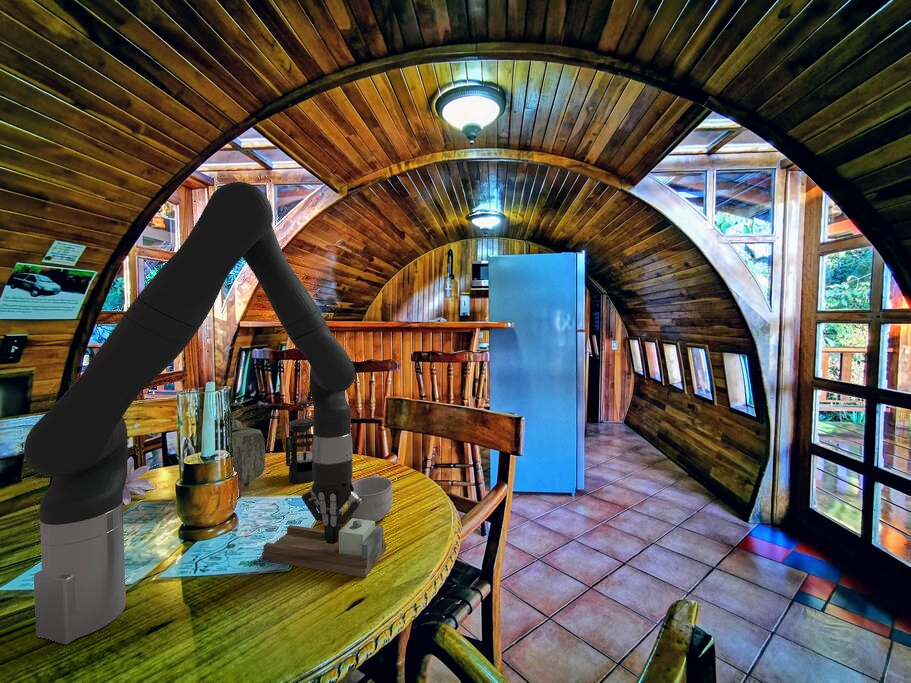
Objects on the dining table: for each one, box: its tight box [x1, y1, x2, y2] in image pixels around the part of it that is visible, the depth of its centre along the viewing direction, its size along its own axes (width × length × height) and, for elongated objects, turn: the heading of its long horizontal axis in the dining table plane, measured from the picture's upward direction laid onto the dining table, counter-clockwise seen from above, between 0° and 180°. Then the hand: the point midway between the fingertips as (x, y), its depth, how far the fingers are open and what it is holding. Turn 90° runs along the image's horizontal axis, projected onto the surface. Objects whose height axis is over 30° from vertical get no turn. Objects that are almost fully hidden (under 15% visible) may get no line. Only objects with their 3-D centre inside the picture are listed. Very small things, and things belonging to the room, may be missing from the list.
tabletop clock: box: [230, 402, 266, 499], centre depth 104 cm, size 14×9×25 cm, turn 152°
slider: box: [339, 517, 376, 557], centre depth 76 cm, size 5×5×6 cm
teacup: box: [346, 474, 393, 523], centre depth 95 cm, size 14×11×8 cm
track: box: [261, 524, 387, 578], centre depth 78 cm, size 9×22×6 cm, turn 77°
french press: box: [285, 400, 314, 485], centre depth 117 cm, size 12×9×23 cm
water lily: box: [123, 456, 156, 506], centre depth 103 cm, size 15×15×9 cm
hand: (332, 541), depth 77 cm, fingers closed
